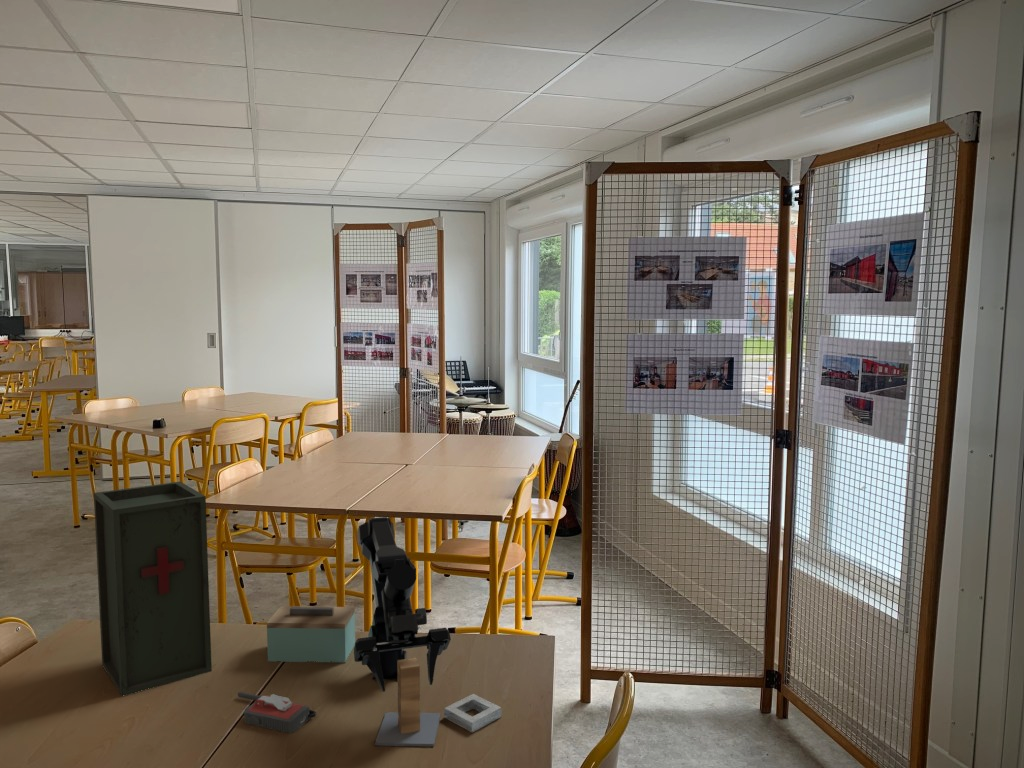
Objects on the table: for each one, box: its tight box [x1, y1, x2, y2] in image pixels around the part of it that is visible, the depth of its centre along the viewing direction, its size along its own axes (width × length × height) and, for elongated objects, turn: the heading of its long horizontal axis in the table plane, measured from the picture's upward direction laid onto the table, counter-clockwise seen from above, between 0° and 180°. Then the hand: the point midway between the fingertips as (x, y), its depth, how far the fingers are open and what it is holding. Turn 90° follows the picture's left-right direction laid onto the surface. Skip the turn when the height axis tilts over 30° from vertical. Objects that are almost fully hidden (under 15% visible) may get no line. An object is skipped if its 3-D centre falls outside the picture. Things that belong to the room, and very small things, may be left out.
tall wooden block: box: [397, 657, 421, 734], centre depth 149 cm, size 4×4×13 cm
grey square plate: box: [374, 711, 441, 747], centre depth 150 cm, size 11×11×1 cm
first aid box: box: [93, 481, 213, 697], centre depth 173 cm, size 18×18×40 cm
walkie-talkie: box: [237, 691, 317, 734], centre depth 155 cm, size 9×4×20 cm
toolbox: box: [266, 605, 356, 663], centre depth 183 cm, size 18×10×11 cm, turn 89°
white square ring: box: [443, 693, 502, 734], centre depth 154 cm, size 8×8×2 cm
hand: (407, 687), depth 150 cm, fingers open, 9 cm apart
